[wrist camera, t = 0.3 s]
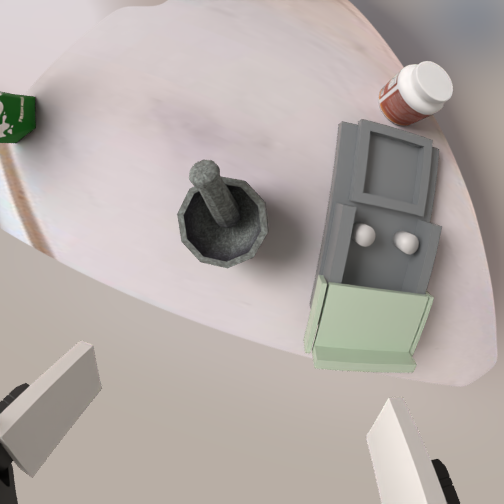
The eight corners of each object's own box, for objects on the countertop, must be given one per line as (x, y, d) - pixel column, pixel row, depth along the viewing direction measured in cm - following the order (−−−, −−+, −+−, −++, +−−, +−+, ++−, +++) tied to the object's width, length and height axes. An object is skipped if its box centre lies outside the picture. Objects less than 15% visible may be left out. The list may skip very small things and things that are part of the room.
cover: (318, 274, 32) (325, 293, 27) (424, 289, 31) (445, 307, 26) (303, 340, 35) (306, 367, 29) (403, 348, 34) (418, 372, 28)
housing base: (339, 121, 32) (349, 109, 26) (432, 147, 31) (455, 143, 25) (309, 303, 38) (314, 324, 32) (399, 314, 37) (414, 333, 31)
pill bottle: (420, 127, 30) (464, 112, 20) (381, 125, 31) (417, 105, 20) (412, 86, 29) (450, 60, 18) (373, 83, 30) (404, 50, 19)
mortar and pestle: (273, 249, 36) (269, 280, 25) (202, 256, 38) (170, 287, 26) (263, 161, 34) (254, 150, 22) (190, 172, 35) (150, 168, 23)
